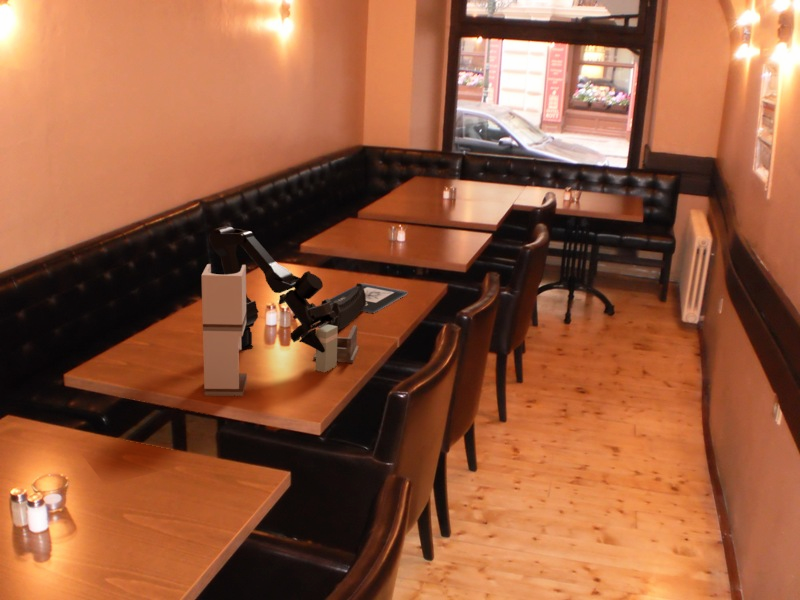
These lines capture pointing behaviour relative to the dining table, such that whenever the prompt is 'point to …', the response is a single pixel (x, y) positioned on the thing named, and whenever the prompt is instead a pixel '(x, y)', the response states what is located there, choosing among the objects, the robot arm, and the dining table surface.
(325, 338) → the book
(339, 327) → the magazine
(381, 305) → the sketchbook
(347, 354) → the book rack
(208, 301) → the beige rectangular tower
